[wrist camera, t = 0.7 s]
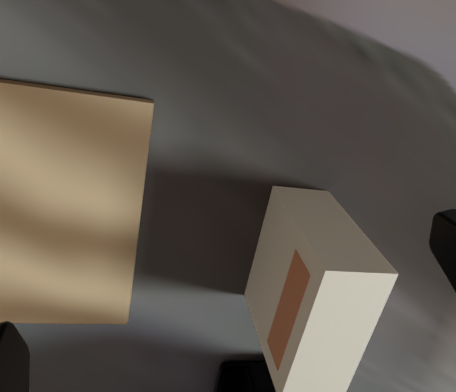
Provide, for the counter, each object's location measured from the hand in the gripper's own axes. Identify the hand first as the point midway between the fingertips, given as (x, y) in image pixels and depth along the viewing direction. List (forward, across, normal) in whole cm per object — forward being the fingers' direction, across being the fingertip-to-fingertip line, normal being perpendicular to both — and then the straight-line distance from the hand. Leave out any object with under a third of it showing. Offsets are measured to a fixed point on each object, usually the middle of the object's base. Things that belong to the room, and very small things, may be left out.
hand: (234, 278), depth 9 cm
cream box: (+13, -5, +12) cm, 18 cm away
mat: (+14, +11, +5) cm, 18 cm away
